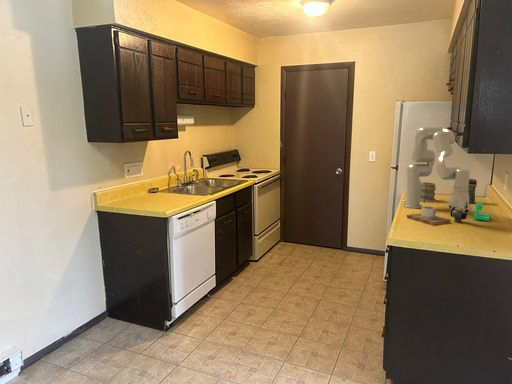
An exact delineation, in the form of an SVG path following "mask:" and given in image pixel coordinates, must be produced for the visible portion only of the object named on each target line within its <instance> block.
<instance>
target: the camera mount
mask: <svg viewBox="0 0 512 384" xmlns="http://www.w3.org/2000/svg"><path fill="white" fill-rule="evenodd" d="M483 205H484V203H481V202H476V204H475V209H474V217H473V219H474V220H479V221H487V222H489V221H490V216H491V214H489V213H482V212H480V211H483Z"/></svg>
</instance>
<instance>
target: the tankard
mask: <svg viewBox="0 0 512 384" xmlns="http://www.w3.org/2000/svg"><path fill="white" fill-rule="evenodd" d="M436 189H437V188H436V183H435V182H421V195H420V202H422V201H427V202H426V203H434V202H433V201H437V200H436V198H435V197H436Z"/></svg>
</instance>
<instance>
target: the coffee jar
mask: <svg viewBox="0 0 512 384" xmlns="http://www.w3.org/2000/svg"><path fill="white" fill-rule="evenodd" d="M477 183H478V182H477V179H475V178H474V179H473V178H469V186H468V192H469V204H470V205H473V204H475V202H476V188H477V186H478V184H477Z"/></svg>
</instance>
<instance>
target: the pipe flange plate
mask: <svg viewBox="0 0 512 384" xmlns="http://www.w3.org/2000/svg"><path fill="white" fill-rule="evenodd" d="M406 218H407V219H409V220H413V221H415V222H420V223H423V224H426V225H430V226H436V225H445V224H451V220H452V219H449V218H446V217H442V216H439V215H437V207H435V206H434V207H433V206H428V205H427V206H422V207H421V208H420V213H409V214H406Z"/></svg>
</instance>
